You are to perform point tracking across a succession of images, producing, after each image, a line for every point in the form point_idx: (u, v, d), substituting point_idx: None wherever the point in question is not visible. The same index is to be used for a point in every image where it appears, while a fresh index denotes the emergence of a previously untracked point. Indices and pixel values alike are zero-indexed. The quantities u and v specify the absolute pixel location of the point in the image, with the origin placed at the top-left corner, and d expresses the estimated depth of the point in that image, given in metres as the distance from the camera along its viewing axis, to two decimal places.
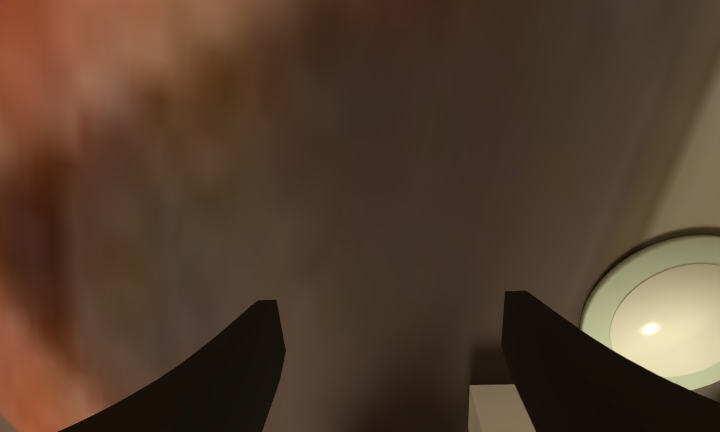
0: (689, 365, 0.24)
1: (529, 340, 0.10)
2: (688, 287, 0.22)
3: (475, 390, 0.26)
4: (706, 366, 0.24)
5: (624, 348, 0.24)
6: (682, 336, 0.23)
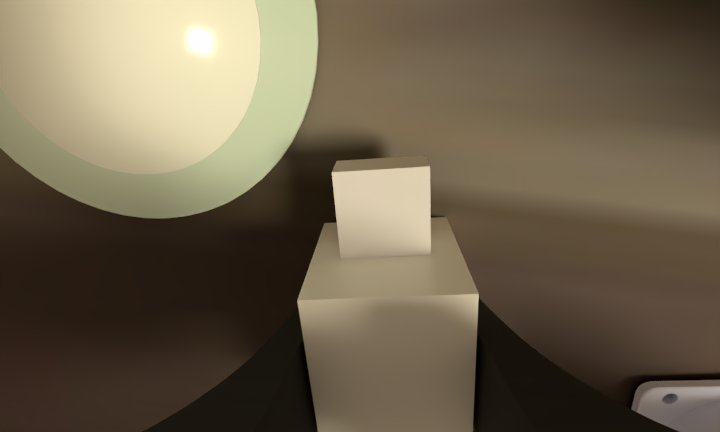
0: None
1: None
2: (32, 42, 0.11)
3: None
4: None
5: (202, 133, 0.11)
6: (141, 18, 0.10)
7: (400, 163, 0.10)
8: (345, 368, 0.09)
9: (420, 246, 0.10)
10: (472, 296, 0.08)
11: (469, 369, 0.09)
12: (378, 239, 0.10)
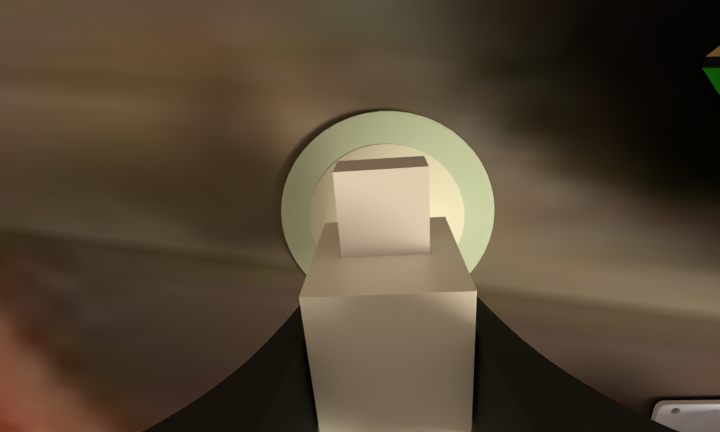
0: (448, 195, 0.19)
1: None
2: None
3: None
4: (451, 175, 0.19)
5: None
6: None
7: (400, 163, 0.10)
8: (345, 364, 0.09)
9: (419, 245, 0.10)
10: (470, 293, 0.09)
11: (468, 365, 0.09)
12: (378, 238, 0.10)
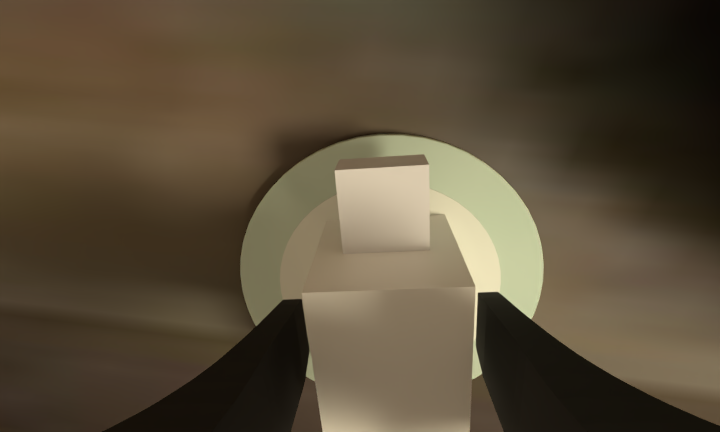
0: (477, 254, 0.14)
1: (497, 341, 0.10)
2: None
3: None
4: (484, 226, 0.13)
5: None
6: None
7: (400, 161, 0.10)
8: (347, 358, 0.10)
9: (419, 241, 0.10)
10: (469, 288, 0.09)
11: (466, 359, 0.09)
12: (379, 235, 0.10)
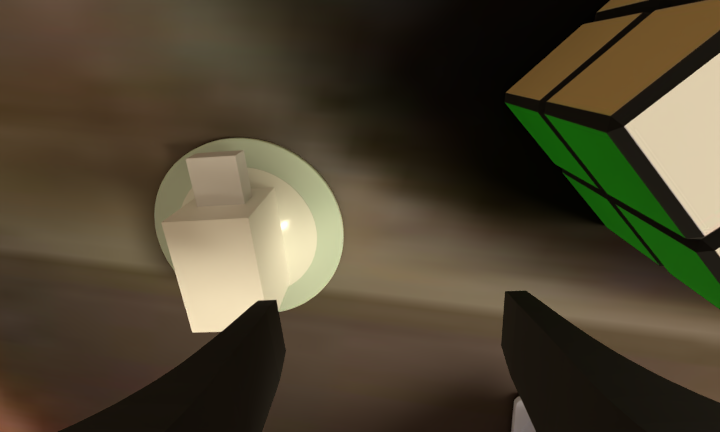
0: (300, 212, 0.22)
1: (529, 341, 0.10)
2: None
3: None
4: (300, 194, 0.21)
5: None
6: None
7: (225, 154, 0.18)
8: (190, 260, 0.18)
9: (238, 199, 0.19)
10: (245, 219, 0.17)
11: (253, 260, 0.18)
12: (215, 195, 0.19)
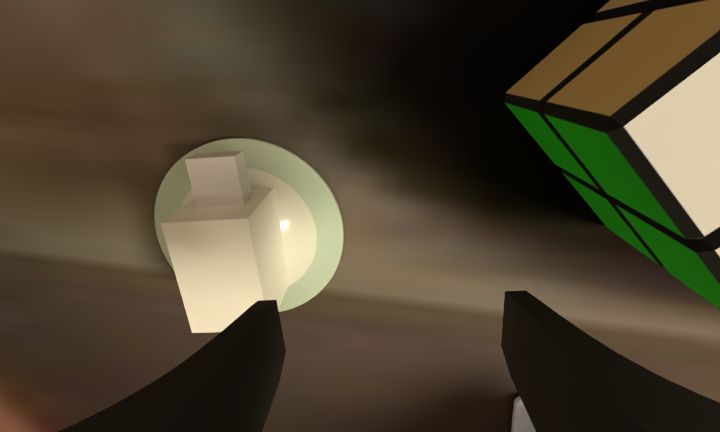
0: (300, 212, 0.22)
1: (529, 340, 0.10)
2: None
3: None
4: (300, 194, 0.21)
5: None
6: None
7: (224, 154, 0.18)
8: (190, 261, 0.18)
9: (237, 199, 0.19)
10: (245, 219, 0.17)
11: (252, 260, 0.18)
12: (214, 196, 0.19)
